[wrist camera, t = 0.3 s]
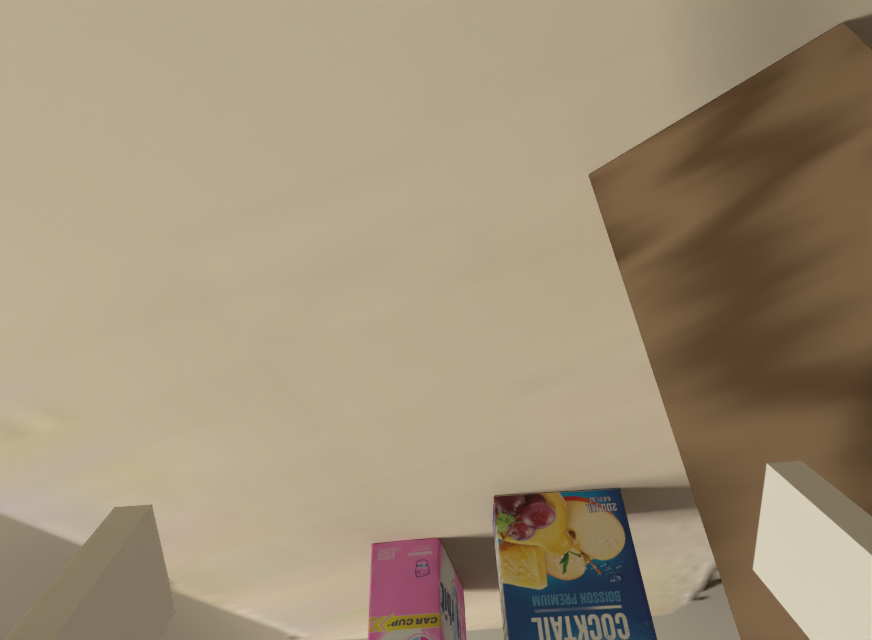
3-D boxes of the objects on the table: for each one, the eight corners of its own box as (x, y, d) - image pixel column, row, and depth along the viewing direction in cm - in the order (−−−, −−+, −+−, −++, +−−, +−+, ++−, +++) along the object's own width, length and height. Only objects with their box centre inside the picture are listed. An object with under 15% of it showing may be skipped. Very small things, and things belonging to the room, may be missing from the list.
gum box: (466, 589, 81) (473, 704, 72) (411, 594, 82) (412, 708, 73) (439, 536, 62) (444, 681, 54) (368, 542, 63) (363, 687, 55)
